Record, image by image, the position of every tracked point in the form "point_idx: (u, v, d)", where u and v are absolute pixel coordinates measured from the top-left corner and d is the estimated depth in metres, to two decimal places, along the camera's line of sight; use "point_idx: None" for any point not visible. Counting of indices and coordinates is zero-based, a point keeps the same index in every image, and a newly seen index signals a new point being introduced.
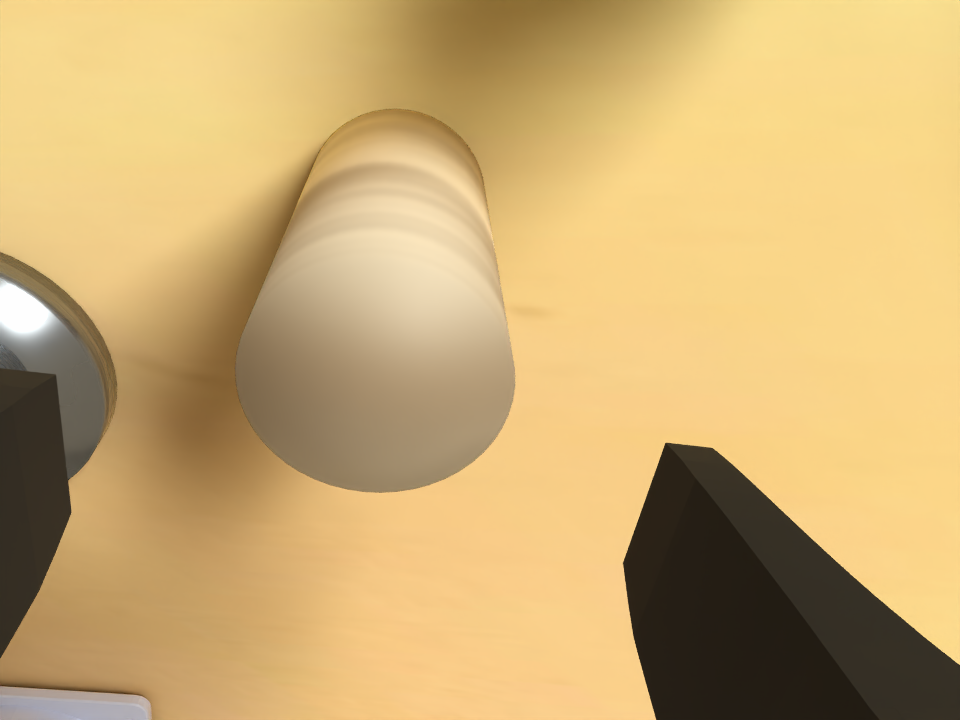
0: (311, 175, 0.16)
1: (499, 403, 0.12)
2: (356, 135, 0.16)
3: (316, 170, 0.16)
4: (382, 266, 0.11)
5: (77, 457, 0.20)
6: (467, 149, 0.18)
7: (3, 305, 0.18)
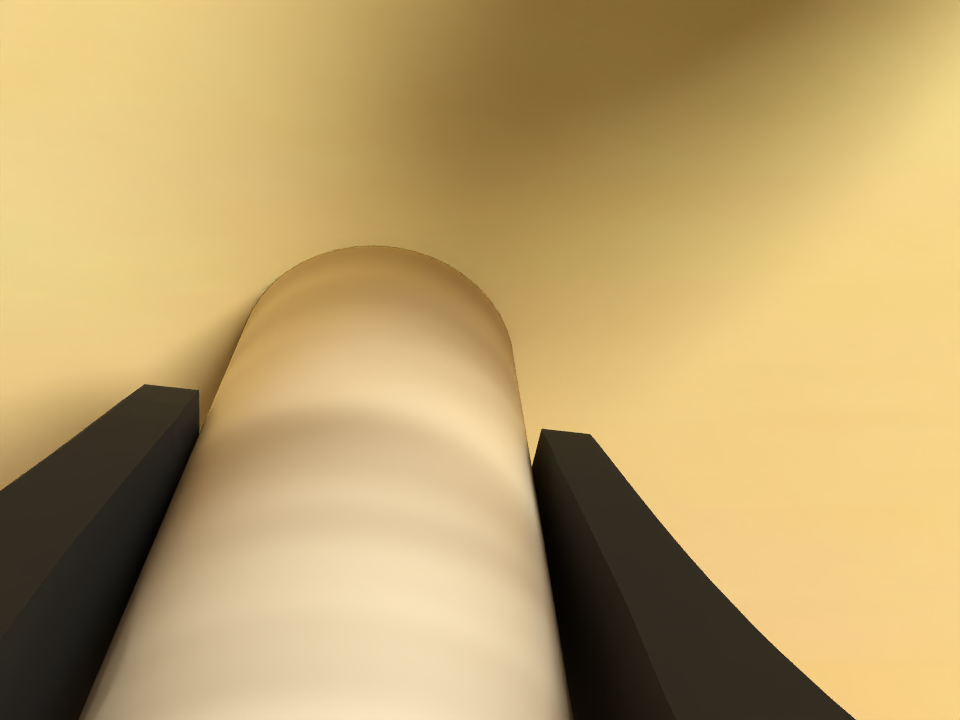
0: (224, 384, 0.09)
1: None
2: (303, 311, 0.09)
3: (232, 378, 0.09)
4: None
5: None
6: (488, 308, 0.11)
7: None
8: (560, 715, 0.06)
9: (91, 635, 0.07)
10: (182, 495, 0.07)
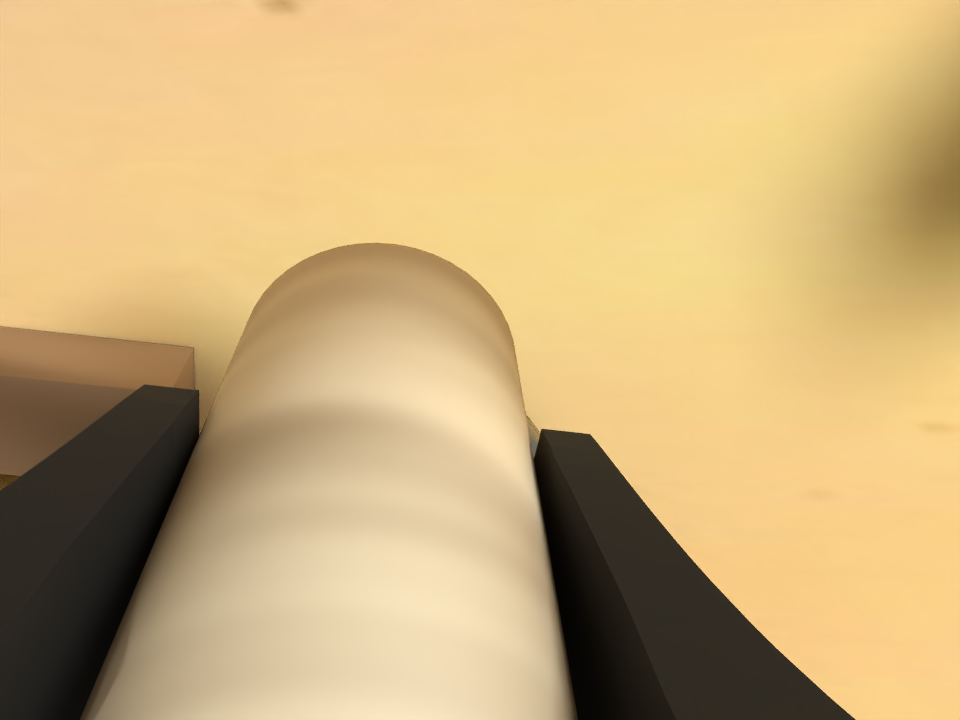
0: (226, 381, 0.09)
1: None
2: (305, 307, 0.09)
3: (234, 375, 0.09)
4: None
5: None
6: (490, 306, 0.11)
7: None
8: (564, 711, 0.06)
9: (91, 635, 0.07)
10: (185, 491, 0.07)
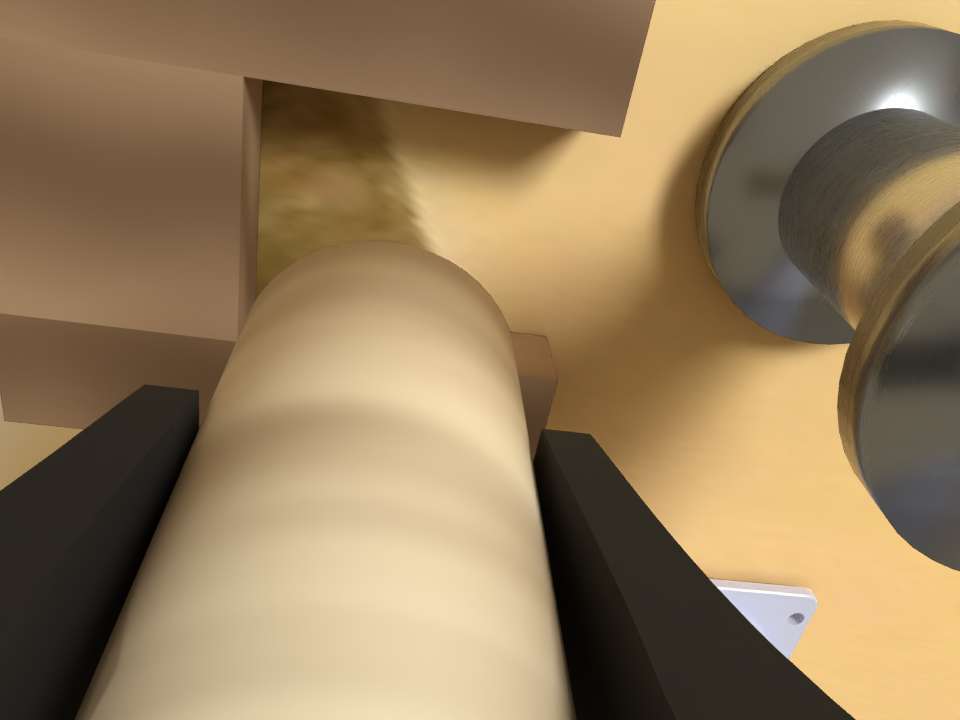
0: (225, 378, 0.09)
1: None
2: (304, 305, 0.09)
3: (232, 372, 0.09)
4: None
5: None
6: (490, 305, 0.11)
7: None
8: (563, 711, 0.06)
9: (91, 635, 0.07)
10: (182, 489, 0.07)
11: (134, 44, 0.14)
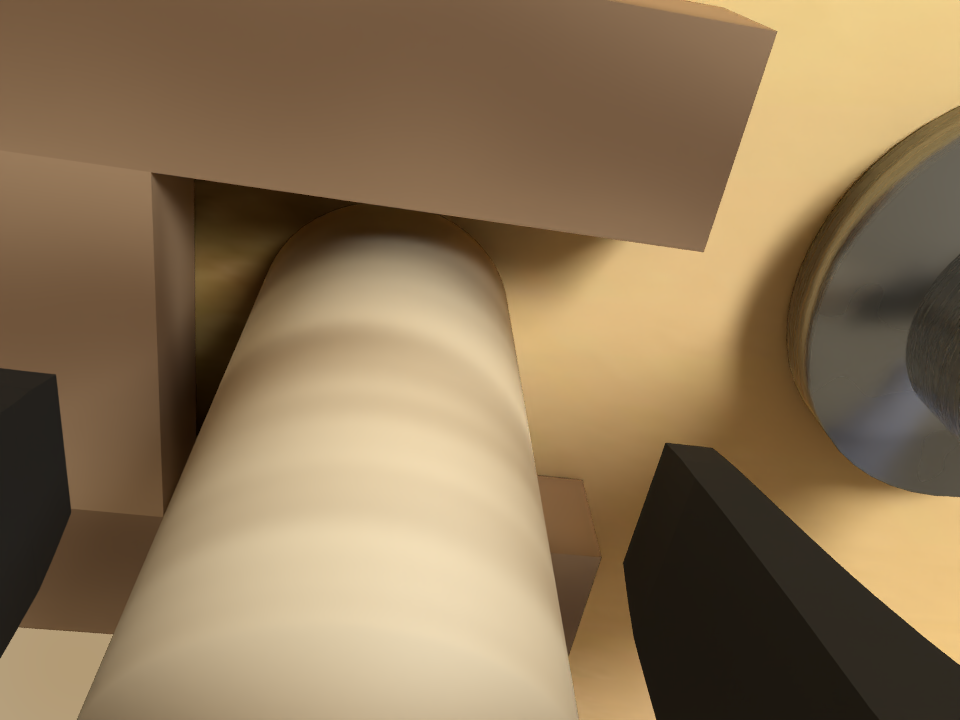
0: (252, 316, 0.10)
1: None
2: (322, 253, 0.11)
3: (259, 310, 0.10)
4: (337, 638, 0.05)
5: None
6: (485, 260, 0.12)
7: None
8: (542, 562, 0.07)
9: None
10: (222, 397, 0.09)
11: None
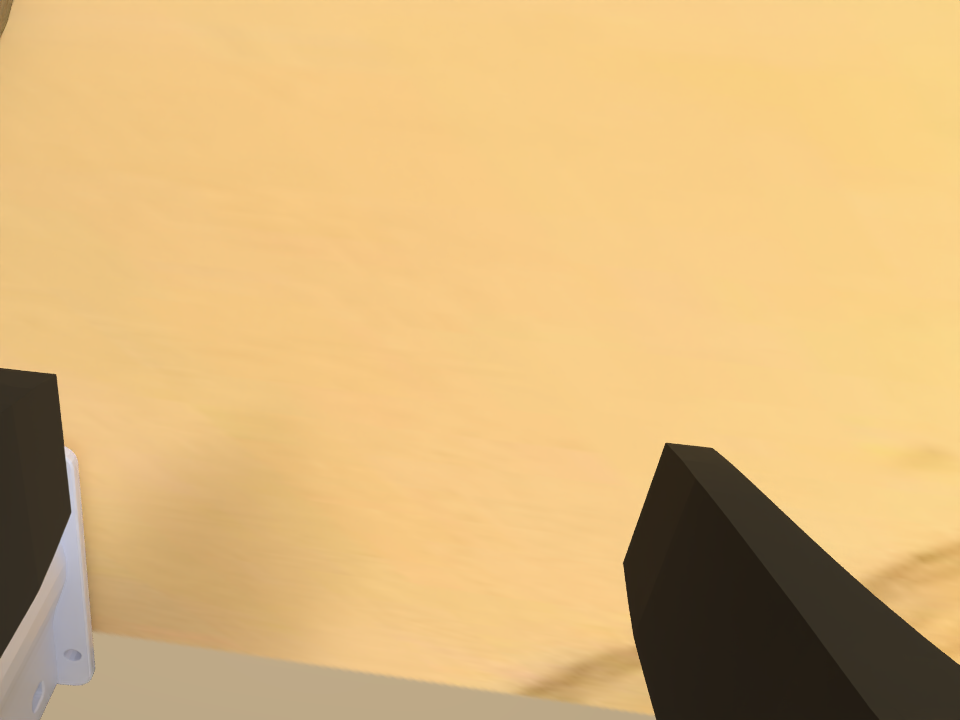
0: None
1: None
2: None
3: None
4: None
5: None
6: None
7: None
8: None
9: None
10: None
11: None
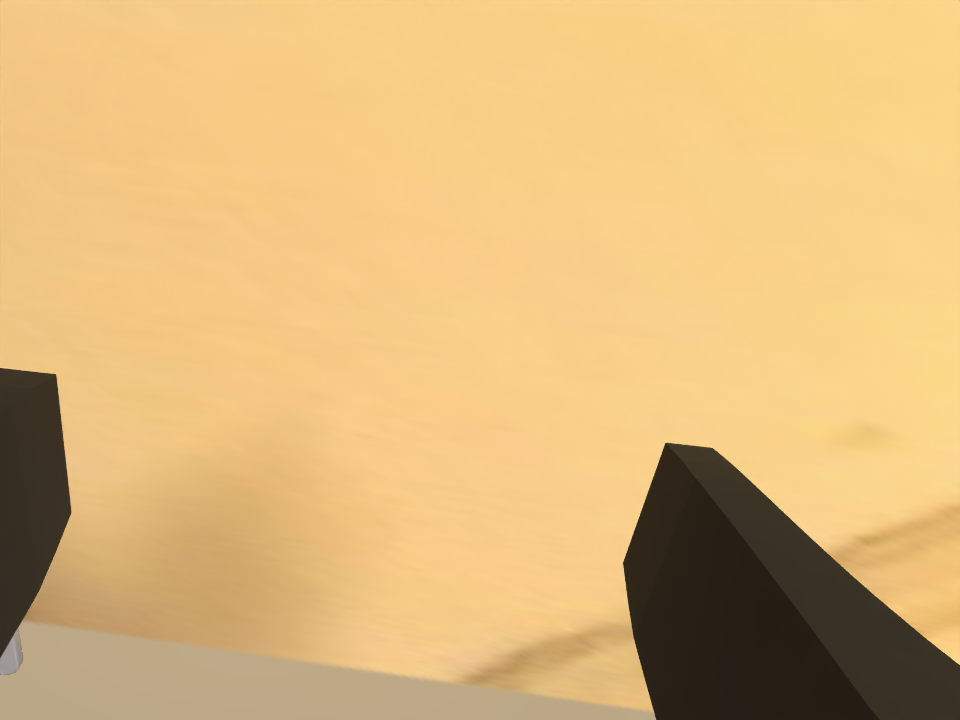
0: None
1: None
2: None
3: None
4: None
5: None
6: None
7: None
8: None
9: None
10: None
11: None
